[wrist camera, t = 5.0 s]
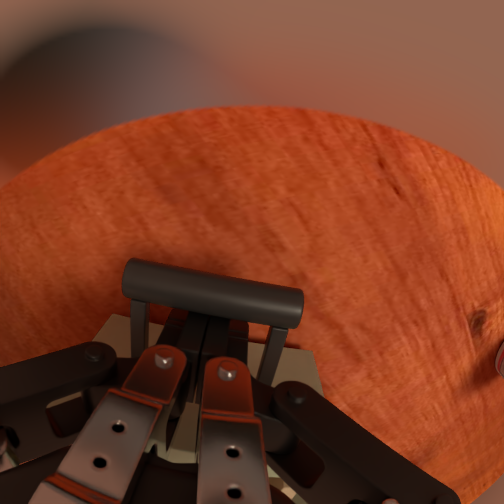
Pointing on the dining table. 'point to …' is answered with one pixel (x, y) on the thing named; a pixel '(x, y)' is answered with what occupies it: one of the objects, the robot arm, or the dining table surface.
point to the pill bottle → (500, 361)
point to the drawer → (216, 304)
